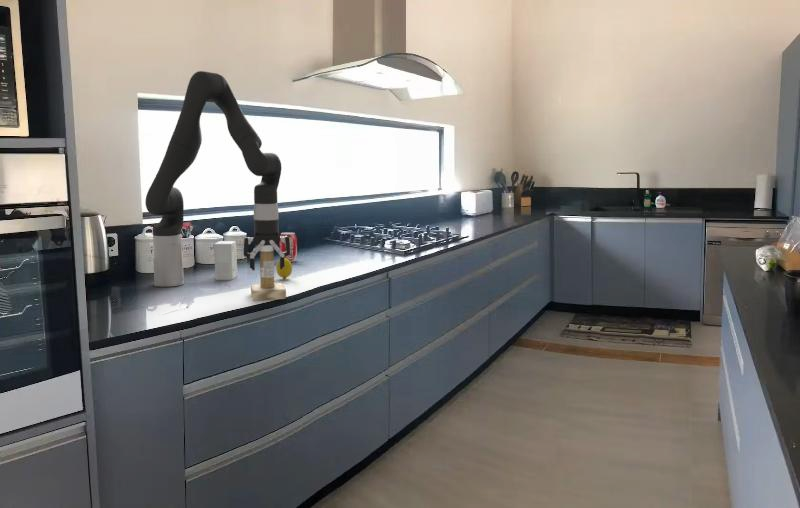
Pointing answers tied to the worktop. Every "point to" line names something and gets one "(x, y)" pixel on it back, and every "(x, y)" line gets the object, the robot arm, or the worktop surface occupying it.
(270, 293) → the pedestal
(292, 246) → the soda can
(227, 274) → the small box
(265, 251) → the sprinkles bottle
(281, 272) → the lemon
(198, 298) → the worktop surface
